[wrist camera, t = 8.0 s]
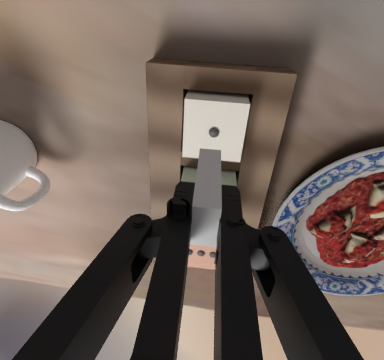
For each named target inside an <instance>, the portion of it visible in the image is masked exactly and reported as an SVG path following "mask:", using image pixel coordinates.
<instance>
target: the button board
mask: <svg viewBox="0 0 384 360" xmlns="http://www.w3.org/2000/svg"><path fill="white" fill-rule="evenodd" d="M296 78H297V74H296V73H295V72H294V71H293V70H291V69H289V68H275V67H262V66H249V65H235V64H222V63H209V62H196V61H182V60H169V59H156V58H152V59H151V60H149V61H148V62H146V84H147V111H148V139H149V166H150V193H151V220H154V219H160V218H163V217H165V216H166V215H167V202H168V200H170V199H171V198H173V196H174V192H175V187H176V185H177V184H178V183H179V182H180V181H181V177H182V173H183V165H184V166H194V167H197V166H198V159H199V158H189V157H182V151H183V126H184V101H185V97H186V89H190V90H203V91H215V92H227V93H240V94H249V102H250V109H249V115H248V120H247V126H246V132H245V138H244V143H243V149H242V155H241V160H240V162H231V161H221V169H225V170H236V182H237V188H238V189H239V191H240V197H241V206H242V214H243V219H244V220H245V222H246V223H247V224H248V225H249V226H251V227H253V228H255V229H258V226H259V222H260V218H261V214H262V210H263V206H264V203H265V199H266V195H267V191H268V187H269V183H270V179H271V175H272V171H273V168H274V164H275V160H276V156H277V152H278V148H279V144H280V140H281V136H282V133H283V129H284V125H285V121H286V117H287V113H288V109H289V105H290V101H291V98H292V94H293V90H294V86H295V82H296ZM155 260H156V258H153V263H155ZM189 268H194V267H189ZM198 269H202V268H198ZM207 270H211V269H207Z"/></svg>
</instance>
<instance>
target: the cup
mask: <svg viewBox="0 0 384 360" xmlns="http://www.w3.org/2000/svg"><path fill="white" fill-rule="evenodd" d="M36 164H37V152H36V149H35V146H34V144H33V143H32V141H31V140H30V138H29V137H28V136H27V135H26V134H25V133H24V132H23V131H22V130H21V129H19V128H18V127H16V126H15V125H13V124H11V123H8V122H5V121H2V120H0V208H2V209H5V210H9V211H21V210H24V209H27V208H29V207H31V206H33V205H35V204H36V203H38V202H39V201H40V200H42V199H43V198H44V197H45V196H46V194H47V193H48V191H49V189H50V180H49V178H48V177H47V176H46V175H45V174H44V173H43V172H42V171H40V170H38V169H36V168H35V167H36ZM27 176H29V177H32V178H34V179H36V180H37V181H39V182H40V184H41V185H40V188H39V189H38V191H37V192H35V193H34V194H33V195H32V196H30V197H28V198H26V199H24V200H21V201H15V200H11V199H9V198H7V197H5V196H4V195H5V194H7V193H8V192H9V191H10V190H11V189H13V188H14V187H15V186H16V185H17V184H19V183H20V182H21V181H22V180H24V179H25V178H26V177H27Z"/></svg>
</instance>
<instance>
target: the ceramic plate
mask: <svg viewBox="0 0 384 360" xmlns="http://www.w3.org/2000/svg"><path fill="white" fill-rule="evenodd" d="M272 226H274V227H277V228H279V229H281V230H283V231H284V232H285V233H286V235H287V236H288V238H289V240H290V241H291V243H292V244H293V246H294V248H295V249H296V251H297V253H298V254H299V256H300V257H301V259H302V261H303V262H304V264H305V265H306V267H307V269H308V270H309V272H310V274H311V275H312V277H313V278H314V280H315V282H316V283H317V285H318V286H319V288H320V290H321V291H322V292H324V293H328V294H334V295H343V296H368V295H377V294H383V293H384V147H379V148H373V149H369V150H366V151H362V152H359V153H355V154H352V155H350V156H347V157H345V158H342V159H340V160H337V161H335V162H333V163H331V164H329V165H327V166H325V167H324V168H322V169H320V170H319V171H317V172H315V173H314V174H313V175H311V176H310V177H308V178H307V179H306V180H304V181H303V182H302V183H301V184H300V185H299V186H298V187H296V188H295V189H294V190H293V191H292V192H291V194H290V195H289V196H288V197H287V198H286V200H285V201H284V202H283V204H282V205H281V207H280V208H279V210H278V212H277V214H276V216H275V219H274V221H273V224H272Z"/></svg>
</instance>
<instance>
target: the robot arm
mask: <svg viewBox="0 0 384 360" xmlns="http://www.w3.org/2000/svg"><path fill="white" fill-rule="evenodd" d="M190 244H191V245H201V246H211V247H216V245H217V248H216V255H215V261H214V264H215V316H214V360H263V356H262V349H261V341H260V332H259V324H258V316H257V308H256V300H255V291H254V283H253V275H254V278H255V280H256V283H257V285H258V288H259V290H260V293H261V295H262V298H263V300H264V303H265V305H266V307H267V310H268V312H269V315H270V317H271V320H272V322H273V325H274V327H275V330H276V332H277V335H278V337H279V339H280V342H281V344H282V347H283V350H284V352H285V354H286V357H287V359H288V360H364V359H363V358H362V356H361V354H360V353H359V351H358V350H357V348H356V346H355V345H354V343H353V342H352V340H351V338H350V337H349V335H348V333H347V332H346V330H345V329H344V327H343V325H342V324H341V322H340V320H339V319H338V317H337V316H336V314H335V312H334V311H333V309H332V307H331V306H330V304H329V303H328V301H327V299H326V298H325V296H324V295H323V293H322V291H321V290H320V288H319V286H318V285H317V283H316V282H315V280H314V278H313V277H312V275H311V274H310V272H309V270H308V269H307V267H306V265H305V264H304V262H303V261H302V259H301V257H300V256H299V254H298V253H297V251H296V249H295V248H294V246H293V244H292V243H291V241H290V240H289V238H288V236H287V235H286V233H285V232H284V231H283V230H281V229H279V228H277V227H274V226H267V227H264V228H262V229H261V230H258V229H255V228H253V227H251V226H249V225H248V224H247V223H246V222H245V220H244V219H243V214H242V206H241V197H240V191H239V189H238V188H237V187H236V186H232V185H222V184H221V150H214V149H202V148H200V151H199V159H198V166H197V174H196V181H195V183H194V182H183V181H180V182H179V183H178V184H177V185H176V187H175V192H174V196H173V198H171V199H170V200H168V202H167V215H166V216H165V217H163V218H160V219H154V220H151V218H150V217H149V216H147V215H145V214H135V215H133V216H130V217H129V218H128V219H127V220H126V221H125V222H124V224H123V225H122V226H121V227H120V229H119V230H118V231H117V232H116V233H115V235H114V236H113V237H112V238H111V240H110V241H109V242H108V243H107V244H106V246H105V247H104V248H103V249H102V250H101V252H100V253H99V254H98V255H97V257H96V258H95V259H94V260H93V261H92V263H91V264H90V265H89V266H88V268H87V269H86V270H85V271H84V272H83V274H82V275H81V276H80V277H79V278H78V280H77V281H76V282H75V283H74V285H73V286H72V287H71V288H70V289H69V291H68V292H67V293H66V294H65V296H64V297H63V298H62V299H61V300H60V302H59V303H58V304H57V305H56V307H55V308H54V309H53V310H52V311H51V313H50V314H49V315H48V316H47V318H46V319H45V320H44V321H43V322H42V324H41V325H40V326H39V327H38V328H37V330H36V331H35V332H34V333H33V335H32V336H31V337H30V338H29V339H28V341H27V342H26V343H25V344H24V346H23V347H22V348H21V349H20V350H19V352H18V353H17V354H16V355H15V356H14V358H13V359H12V360H95V358H96V356H97V355H98V353H99V351H100V350H101V348H102V346H103V344H104V343H105V341H106V339H107V337H108V336H109V334H110V332H111V331H112V329H113V327H114V326H115V324H116V322H117V320H118V319H119V317H120V315H121V313H122V312H123V310H124V308H125V307H126V305H127V303H128V301H129V300H130V298H131V296H132V295H133V293H134V291H135V289H136V288H137V286H138V284H139V282H140V281H141V279H142V277H143V276H144V274H145V272H146V270H147V269H148V267H149V265H150V264H151V262H152V260H153V258H156V260H155V264H154V268H153V273H152V277H151V281H150V285H149V289H148V293H147V297H146V301H145V305H144V309H143V313H142V317H141V321H140V325H139V329H138V333H137V337H136V341H135V345H134V349H133V353H132V356H131V359H130V360H176V359H177V350H178V342H179V333H180V324H181V317H182V308H183V300H184V291H185V283H186V274H187V266H188V257H189V247H190ZM252 273H253V275H252Z"/></svg>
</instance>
